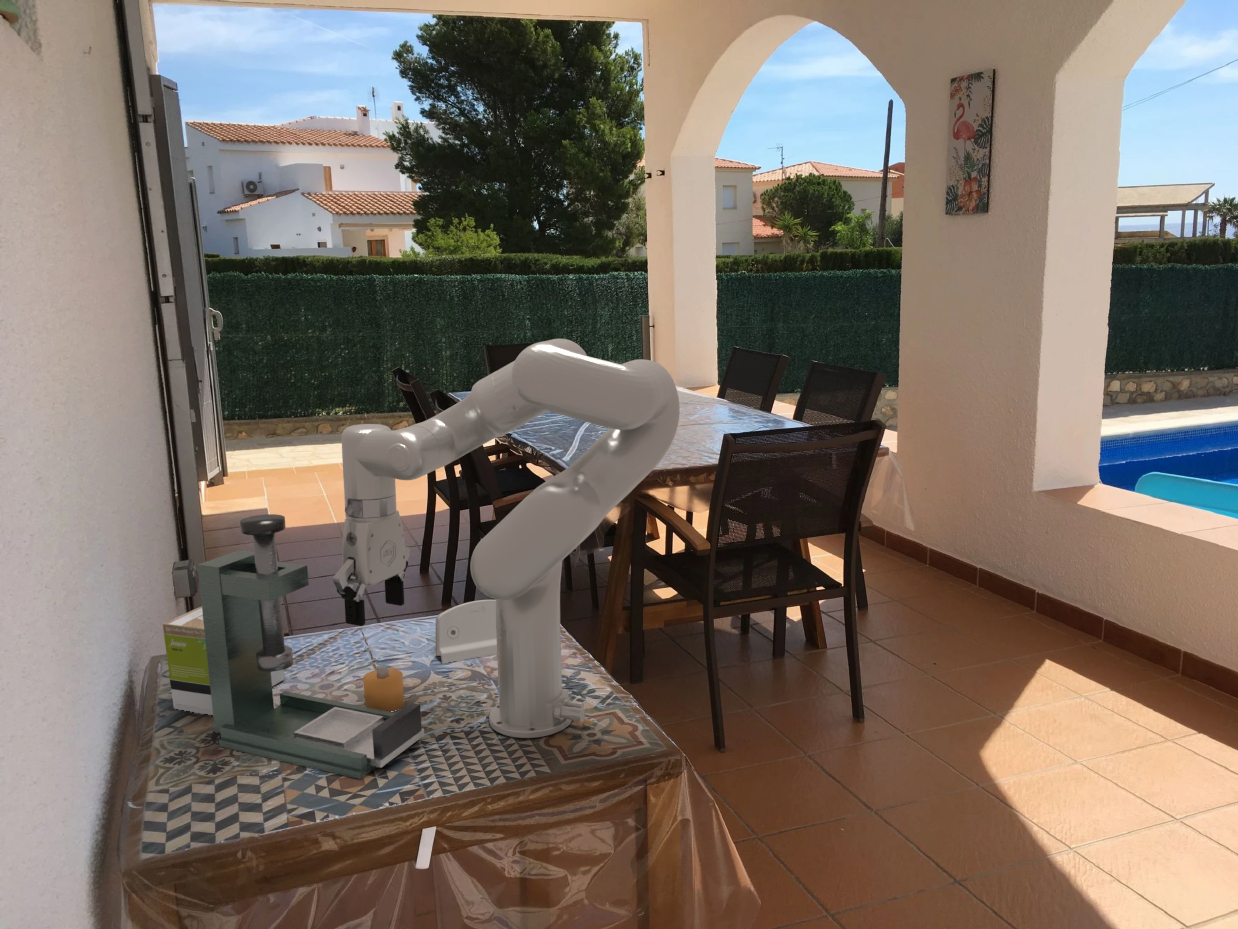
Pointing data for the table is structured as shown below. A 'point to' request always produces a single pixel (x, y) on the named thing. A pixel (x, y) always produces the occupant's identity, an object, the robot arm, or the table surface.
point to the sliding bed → (366, 732)
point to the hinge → (466, 631)
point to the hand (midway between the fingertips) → (375, 613)
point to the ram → (266, 563)
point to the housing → (384, 689)
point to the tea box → (192, 663)
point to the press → (248, 690)
